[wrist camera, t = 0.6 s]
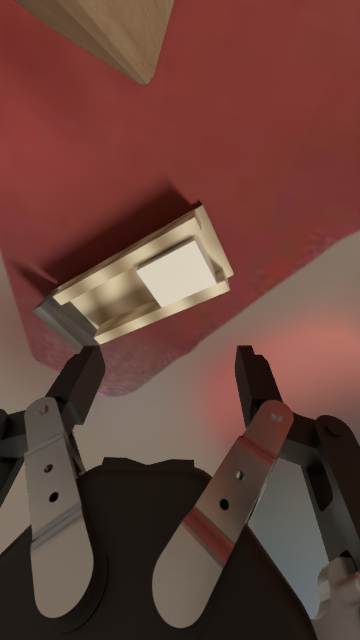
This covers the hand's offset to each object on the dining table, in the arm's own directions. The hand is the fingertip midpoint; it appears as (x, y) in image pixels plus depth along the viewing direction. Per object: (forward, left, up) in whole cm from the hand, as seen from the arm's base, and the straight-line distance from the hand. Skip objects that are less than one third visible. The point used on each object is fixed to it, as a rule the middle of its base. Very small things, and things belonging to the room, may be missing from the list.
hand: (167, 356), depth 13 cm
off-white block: (+2, +2, -20) cm, 20 cm away
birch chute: (+8, +2, -21) cm, 23 cm away
